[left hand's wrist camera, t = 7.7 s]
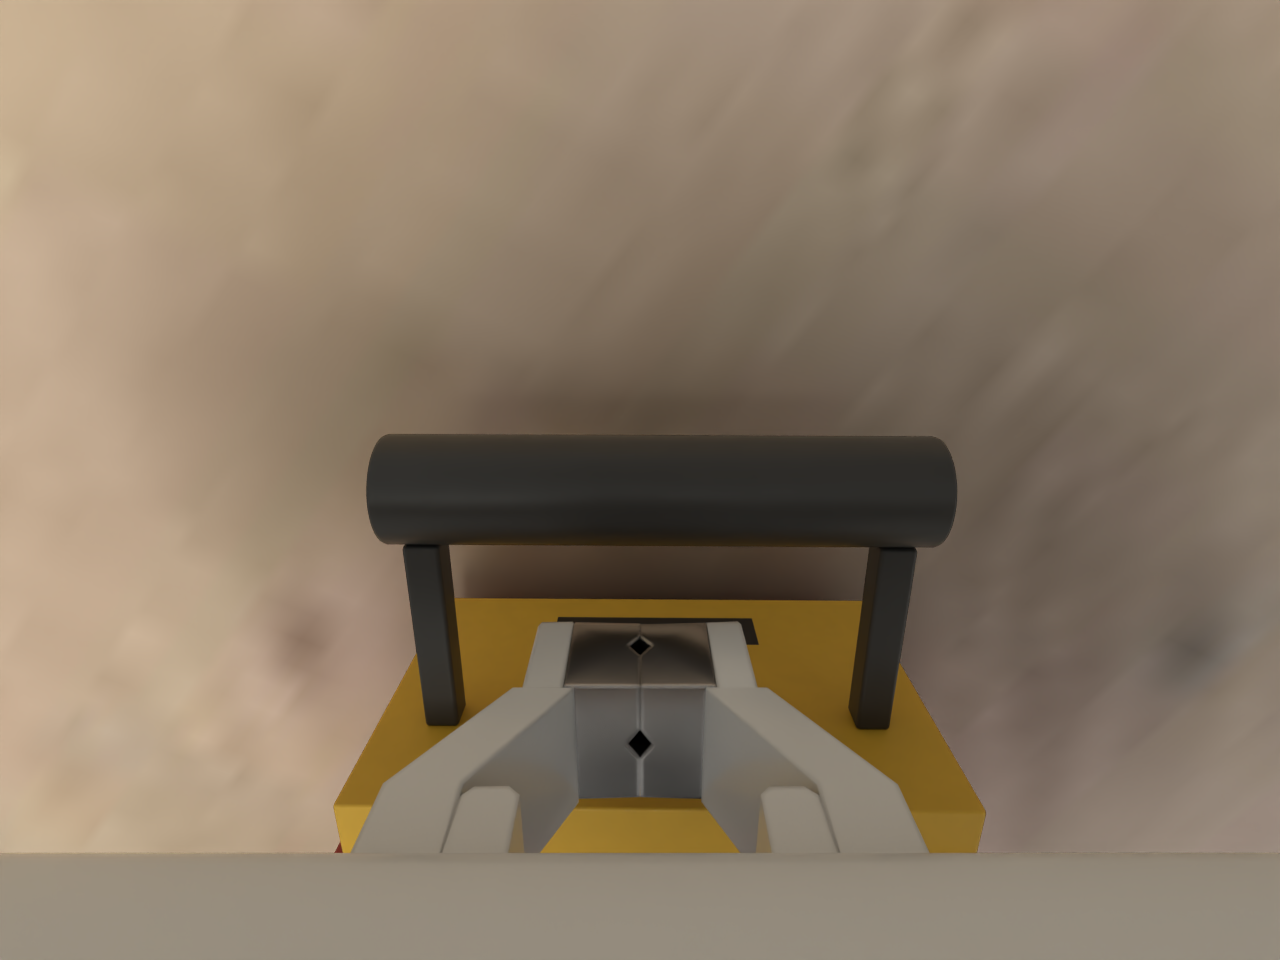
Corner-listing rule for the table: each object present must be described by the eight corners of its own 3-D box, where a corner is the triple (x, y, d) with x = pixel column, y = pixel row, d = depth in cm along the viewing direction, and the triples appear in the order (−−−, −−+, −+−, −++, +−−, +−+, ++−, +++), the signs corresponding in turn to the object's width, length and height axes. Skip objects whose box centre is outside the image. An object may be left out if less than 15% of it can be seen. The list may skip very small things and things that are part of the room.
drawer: (421, 379, 14) (265, 483, 8) (893, 381, 14) (1064, 487, 8) (497, 1057, 22) (444, 1354, 16) (802, 1061, 22) (858, 1362, 16)
